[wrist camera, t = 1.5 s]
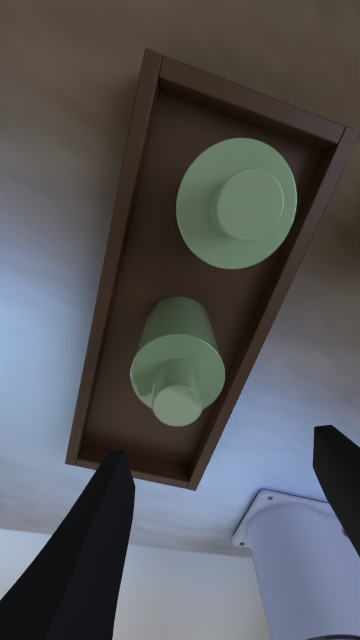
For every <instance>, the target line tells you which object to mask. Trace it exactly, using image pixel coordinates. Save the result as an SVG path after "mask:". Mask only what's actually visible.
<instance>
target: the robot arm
mask: <svg viewBox="0 0 360 640" xmlns="http://www.w3.org/2000/svg"><path fill="white" fill-rule="evenodd" d="M313 469H314V471H315V473H316V476H317V478H318V480H319V483H320V485H321V487H322V489H323V492H324V494H325V496H326V498H327V500H328V502H329V503H324V502H320V501H315V500H310V499H306V498H301V497H296V496H292V495H287V494H282V493H278V492H273V491H268V490H261V491H260V492H259V493H258V495H257V497H256V499H255V500H254V502H253V504H252V505H251V507H250V509H249V510H248V512H247V514H246V516H245V517H244V519H243V521H242V522H241V524H240V526H239V527H238V529H237V531H236V533H235V534H234V536H233V538H232V543H233V545H235V546H240V547H245V548H250V549H251V553H252V557H253V562H254V566H255V570H256V576H257V580H258V585H259V589H260V594H261V599H262V603H263V608H264V612H265V617H266V622H267V626H268V630H269V635H270V640H360V447H358V446H357V445H356V444H355V443H353V442H352V441H351V440H350V439H348V438H347V437H346V436H345V435H344V434H342V433H341V432H340V431H339V430H337V429H336V428H335V427H333V426H332V425H326V426H317V427H314V451H313ZM134 498H135V484H134V481H133V478H132V474H131V471H130V468H129V465H128V461H127V458H126V455H125V452H124V450H118V451H110V452H108V453H107V454H106V456H105V457H104V459H103V460H102V462H101V464H100V465H99V467H98V469H97V470H96V472H95V473H94V475H93V476H92V478H91V480H90V481H89V483H88V484H87V486H86V487H85V489H84V491H83V492H82V494H81V495H80V497H79V498H78V500H77V501H76V503H75V504H74V505H73V507H72V508H71V510H70V511H69V513H68V514H67V516H66V517H65V519H64V520H63V521H62V523H61V524H60V526H59V527H58V528H57V530H56V531H55V532H54V534H53V535H52V537H51V538H50V539H49V541H48V542H47V543H46V545H45V546H44V548H43V549H42V550H41V551H40V553H39V554H38V555H37V557H36V558H35V559H34V561H33V562H32V563H31V564H30V565H29V567H28V568H27V569H26V570H25V572H24V573H23V574H22V575H21V577H20V578H19V579H18V580H17V581H16V583H15V584H14V585H13V586H12V588H11V589H10V590H9V591H8V592H7V593H6V594H5V596H4V597H3V598H2V599H1V600H0V640H112V637H113V628H114V620H115V613H116V607H117V600H118V595H119V589H120V583H121V578H122V573H123V567H124V563H125V557H126V552H127V546H128V541H129V536H130V531H131V525H132V519H133V510H134Z"/></svg>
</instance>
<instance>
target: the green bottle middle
mask: <svg viewBox="0 0 360 640" xmlns="http://www.w3.org/2000/svg"><path fill="white" fill-rule="evenodd" d="M130 378H131V384H132V387H133V389H134V391H135V393H136V395H137V396H138V398H139V399H140V400H141V401H142V402H143V403H144V404H145V405H147V406H148V407H149V408H151V409H153V412H154V414H155V416H156V417H157V418H158V419H159V420H160V421H161V422H163V423H164V424H167V425H170V426H185V425H188V424H191V423H192V422H194V421H195V420H196V419H197V418H198V417H199V416H200V414H201V412H202V410H203V409H204V408H206V407H207V406H209V405H210V404H211V403H213V402H214V400H215V399H216V398H217V397H218V395H219V394H220V392H221V390H222V388H223V385H224V381H225V367H224V364H223V360H222V357H221V354H220V351H219V347H218V344H217V341H216V338H215V335H214V331H213V328H212V325H211V322H210V318H209V316H208V313H207V312H206V310H205V309H204V308H203V307H202V306H201V305H200V304H199V303H198V302H196V301H194V300H192V299H190V298H186V297H170V298H167V299H164V300H162V301H160V302H159V303H157V304H156V305H155V306H154V307H153V308H152V309H151V311H150V312H149V314H148V316H147V319H146V322H145V325H144V328H143V331H142V334H141V338H140V341H139V344H138V347H137V350H136V353H135V356H134V359H133V362H132V365H131V370H130Z"/></svg>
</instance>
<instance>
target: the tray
mask: <svg viewBox="0 0 360 640" xmlns="http://www.w3.org/2000/svg"><path fill="white" fill-rule="evenodd" d="M359 135H360V131H358V130H355V129H353V128H350V127H348V126H346V127H345V126H344V125H341V124H339V123H336V122H334V121H331V120H329V119H326V118H324V117H321V116H318V115H316V114H313V113H311V112H308V111H306V110H303V109H300V108H298V107H295V106H293V105H290V104H288V103H285V102H282V101H280V100H277V99H275V98H272V97H270V96H267V95H264V94H262V93H259V92H257V91H254V90H252V89H249V88H246V87H244V86H241V85H239V84H236V83H234V82H231V81H228V80H226V79H223V78H221V77H218V76H216V75H213V74H210V73H208V72H205V71H203V70H200V69H198V68H195V67H192V66H190V65H187V64H185V63H182V62H180V61H177V60H175V59H172V58H169V57H167V56H162V54H160V53H157V52H155V51H152V50H149V49H147V48H146V49H145V52H144V57H143V62H142V67H141V72H140V77H139V83H138V88H137V93H136V98H135V103H134V109H133V114H132V119H131V124H130V129H129V134H128V140H127V145H126V150H125V155H124V160H123V165H122V171H121V176H120V181H119V186H118V191H117V197H116V202H115V207H114V212H113V217H112V222H111V228H110V233H109V238H108V243H107V248H106V254H105V259H104V264H103V269H102V274H101V279H100V285H99V290H98V295H97V300H96V305H95V310H94V316H93V321H92V326H91V331H90V336H89V342H88V347H87V352H86V357H85V362H84V367H83V373H82V378H81V383H80V388H79V393H78V399H77V404H76V409H75V414H74V419H73V424H72V430H71V435H70V440H69V445H68V450H67V455H66V461H65V464H69V465H74V466H75V465H76V466H79V467H84V468H89V469H94V470H97V469H98V467H99V465H100V464H101V462H102V460H103V459H104V457H105V456H106V454H107V453H108V452H110V451H118V450H124V452H125V455H126V458H127V461H128V465H129V468H130V471H131V474H132V478H137V479H142V480H147V481H151V482H156V483H161V484H166V485H171V486H175V487H180V488H185V489H186V488H187V489H189V490H194V491H196V489H197V487H198V484H199V482H200V480H201V478H202V476H203V474H204V471H205V469H206V467H207V465H208V463H209V461H210V458H211V456H212V454H213V452H214V450H215V448H216V445H217V443H218V441H219V439H220V437H221V435H222V432H223V430H224V428H225V426H226V424H227V422H228V419H229V417H230V415H231V413H232V411H233V409H234V406H235V404H236V402H237V400H238V398H239V395H240V393H241V391H242V389H243V387H244V385H245V382H246V380H247V378H248V376H249V374H250V372H251V369H252V367H253V365H254V363H255V361H256V359H257V356H258V354H259V352H260V350H261V348H262V346H263V343H264V341H265V339H266V337H267V335H268V333H269V330H270V328H271V326H272V324H273V322H274V320H275V317H276V315H277V313H278V311H279V309H280V307H281V304H282V302H283V300H284V298H285V296H286V293H287V291H288V289H289V287H290V285H291V283H292V280H293V278H294V276H295V274H296V272H297V270H298V267H299V265H300V263H301V261H302V259H303V257H304V254H305V252H306V250H307V248H308V246H309V244H310V241H311V239H312V237H313V235H314V233H315V231H316V228H317V226H318V224H319V222H320V220H321V218H322V215H323V213H324V211H325V209H326V207H327V205H328V202H329V200H330V198H331V196H332V194H333V191H334V189H335V187H336V185H337V183H338V181H339V178H340V176H341V174H342V172H343V170H344V168H345V165H346V163H347V161H348V159H349V157H350V155H351V152H352V150H353V148H354V146H355V144H356V142H357V139H358V137H359ZM232 138H250V139H255V140H258V141H261V142H263V143H265V144H268V145H269V146H271V147H272V148H274V149H275V150H276V151H277V152H278V153H279V154H280V155H281V156H282V157H283V158H284V160H285V161H286V162H287V164H288V166H289V167H290V169H291V172H292V174H293V176H294V180H295V184H296V190H297V207H296V213H295V217H294V221H293V224H292V226H291V229H290V231H289V233H288V235H287V236H286V238H285V239H284V241H283V242H282V244H281V245H280V246H279V247H278V248H277V249H276V250H275V251H274V252H273V253H272V254H271V255H270V256H268V257H267V258H266V259H264V260H263V261H261V262H259V263H257V264H255V265H252V266H249V267H246V268H241V269H222V268H218V267H215V266H212V265H210V264H208V263H206V262H204V261H202V260H201V259H200V258H198V257H197V256H196V255H195V254H194V253H193V252H192V251H191V250H190V249H189V247H188V246H187V245H186V243H185V241H184V239H183V237H182V235H181V233H180V230H179V227H178V223H177V216H176V201H177V195H178V190H179V187H180V184H181V181H182V179H183V177H184V175H185V173H186V171H187V169H188V168H189V166H190V165H191V164H192V162H193V161H194V160H195V159H196V158H197V157H198V156H199V155H200V154H201V153H202V152H203V151H205V150H206V149H208V148H209V147H211V146H212V145H214V144H216V143H218V142H221V141H224V140H227V139H232ZM170 297H186V298H190V299H192V300H194V301H196V302H198V303H199V304H200V305H201V306H202V307H203V308H204V309H205V310H206V312H207V313H208V316H209V318H210V322H211V325H212V328H213V331H214V335H215V338H216V341H217V344H218V347H219V351H220V354H221V357H222V360H223V364H224V367H225V381H224V385H223V388H222V390H221V392H220V394H219V395H218V397H217V398H216V399H215V400H214V402H213V403H211V404H210V405H209V406H207V407H206V408H204V409H203V410H202V412H201V414H200V416H199V417H198V418H197V419H196V420H195V421H194V422H192V423H191V424H188V425H185V426H170V425H167V424H164V423H163V422H161V421H160V420H159V419H158V418H157V417H156V416H155V414H154V412H153V409H151V408H149V407H148V406H147V405H145V404H144V403H143V402H142V401H141V400H140V399H139V398H138V396H137V395H136V393H135V391H134V389H133V387H132V384H131V378H130V370H131V365H132V362H133V359H134V356H135V353H136V350H137V347H138V344H139V341H140V338H141V334H142V331H143V328H144V325H145V322H146V319H147V316H148V314H149V312H150V311H151V309H152V308H153V307H154V306H155V305H156V304H157V303H159V302H160V301H162V300H164V299H167V298H170Z"/></svg>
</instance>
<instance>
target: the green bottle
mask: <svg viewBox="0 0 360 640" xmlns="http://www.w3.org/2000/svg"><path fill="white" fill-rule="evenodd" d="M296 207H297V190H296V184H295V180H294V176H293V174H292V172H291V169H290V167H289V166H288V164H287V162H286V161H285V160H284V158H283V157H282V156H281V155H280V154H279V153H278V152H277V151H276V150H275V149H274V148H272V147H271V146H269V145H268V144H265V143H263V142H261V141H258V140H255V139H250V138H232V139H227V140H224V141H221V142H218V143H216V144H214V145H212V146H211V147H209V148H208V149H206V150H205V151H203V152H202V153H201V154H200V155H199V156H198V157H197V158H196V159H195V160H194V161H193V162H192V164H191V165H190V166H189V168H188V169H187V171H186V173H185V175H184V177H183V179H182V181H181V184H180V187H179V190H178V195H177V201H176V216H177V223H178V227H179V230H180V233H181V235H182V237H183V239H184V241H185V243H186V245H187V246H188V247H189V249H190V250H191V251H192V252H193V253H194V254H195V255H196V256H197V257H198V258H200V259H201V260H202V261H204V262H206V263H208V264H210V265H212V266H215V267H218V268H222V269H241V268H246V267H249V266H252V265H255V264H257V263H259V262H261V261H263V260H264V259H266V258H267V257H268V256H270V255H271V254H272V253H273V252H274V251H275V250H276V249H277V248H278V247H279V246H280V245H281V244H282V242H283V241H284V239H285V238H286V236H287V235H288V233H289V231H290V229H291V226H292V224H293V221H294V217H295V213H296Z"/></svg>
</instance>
